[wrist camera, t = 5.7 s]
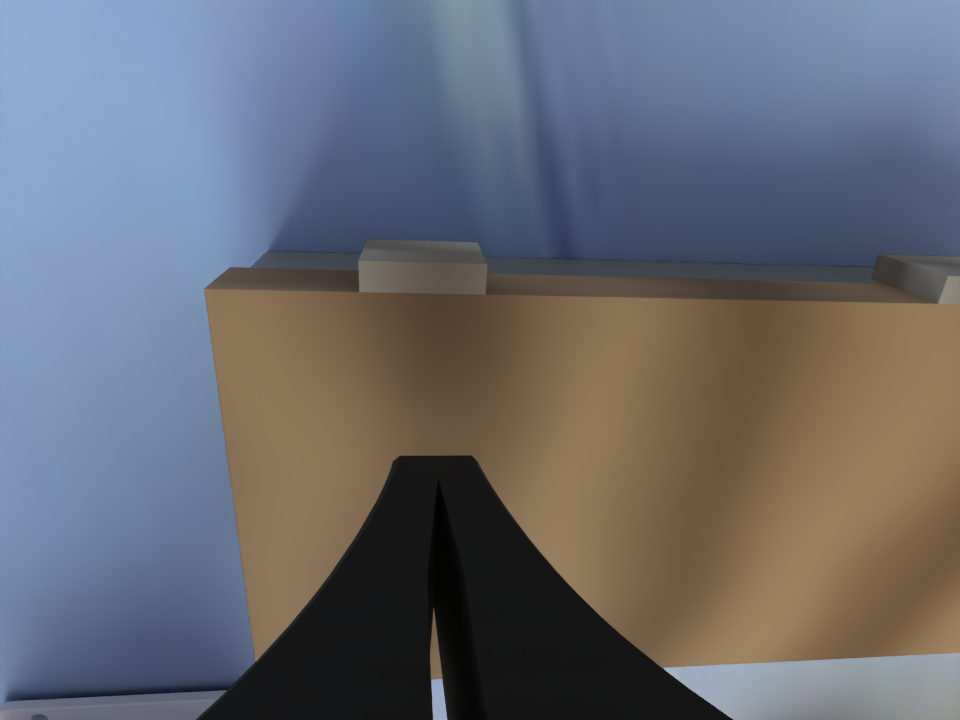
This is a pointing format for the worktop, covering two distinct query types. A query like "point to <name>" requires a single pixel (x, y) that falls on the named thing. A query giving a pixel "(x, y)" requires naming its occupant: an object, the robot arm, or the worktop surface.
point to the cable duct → (597, 268)
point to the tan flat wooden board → (617, 439)
